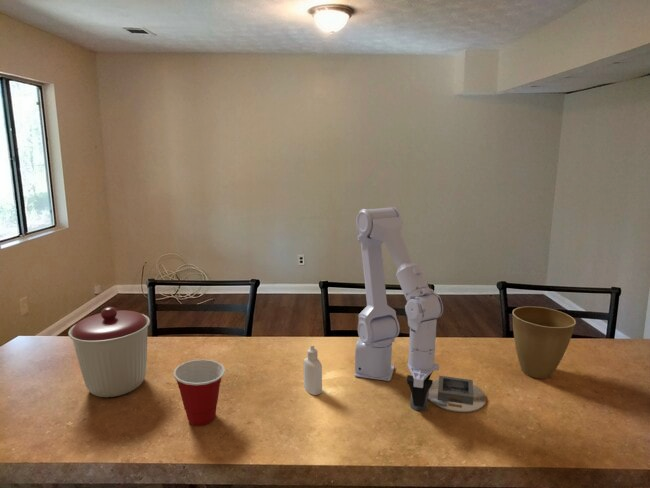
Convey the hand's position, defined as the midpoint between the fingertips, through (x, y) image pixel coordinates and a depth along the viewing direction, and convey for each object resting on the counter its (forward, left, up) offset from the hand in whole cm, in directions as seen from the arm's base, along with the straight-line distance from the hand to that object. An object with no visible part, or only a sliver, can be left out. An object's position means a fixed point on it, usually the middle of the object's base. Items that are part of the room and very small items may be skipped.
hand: (419, 400), depth 104 cm
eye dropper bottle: (-26, 0, -2) cm, 26 cm away
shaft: (0, 0, -2) cm, 2 cm away
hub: (+8, +7, -2) cm, 11 cm away
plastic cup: (-46, -18, -2) cm, 49 cm away
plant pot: (+29, +25, -2) cm, 38 cm away
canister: (-74, -12, -2) cm, 75 cm away
